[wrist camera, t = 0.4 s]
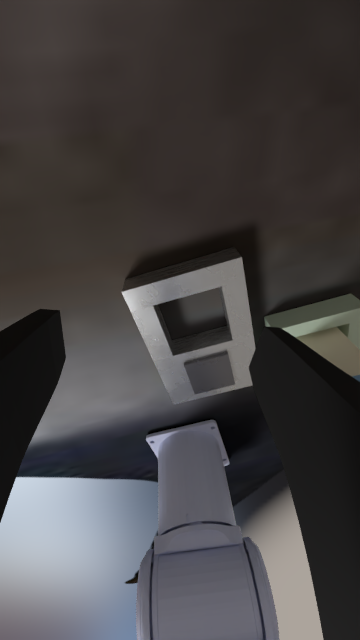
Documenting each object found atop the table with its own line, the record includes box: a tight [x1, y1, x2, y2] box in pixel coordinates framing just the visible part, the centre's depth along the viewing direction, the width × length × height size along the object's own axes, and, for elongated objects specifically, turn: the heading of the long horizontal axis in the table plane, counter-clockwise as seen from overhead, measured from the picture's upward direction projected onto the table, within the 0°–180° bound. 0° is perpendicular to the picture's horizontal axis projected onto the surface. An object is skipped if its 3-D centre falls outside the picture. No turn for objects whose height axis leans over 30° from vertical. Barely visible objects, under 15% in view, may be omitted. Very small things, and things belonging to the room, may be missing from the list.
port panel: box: [122, 247, 255, 404], centre depth 20 cm, size 12×8×2 cm, turn 16°
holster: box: [264, 294, 360, 349], centre depth 22 cm, size 7×7×2 cm
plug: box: [295, 327, 360, 382], centre depth 20 cm, size 4×4×7 cm
